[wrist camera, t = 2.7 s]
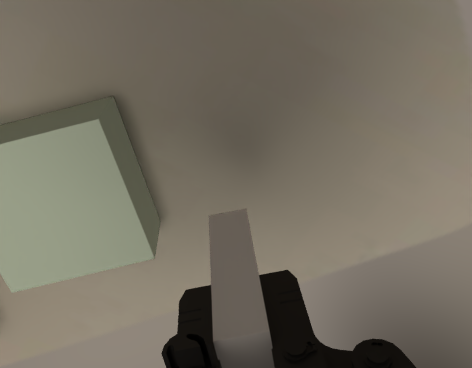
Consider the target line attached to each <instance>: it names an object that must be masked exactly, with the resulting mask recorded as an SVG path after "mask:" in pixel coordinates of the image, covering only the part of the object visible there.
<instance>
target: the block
mask: <svg viewBox="0 0 472 368" xmlns="http://www.w3.org/2000/svg"><path fill="white" fill-rule="evenodd" d="M159 228H160V219H159V216H158V214H157V211H156V209H155V206H154V203H153V201H152V198H151V195H150V193H149V190H148V187H147V185H146V182H145V179H144V177H143V174H142V171H141V169H140V166H139V164H138V161H137V158H136V156H135V153H134V150H133V148H132V145H131V142H130V140H129V137H128V134H127V132H126V129H125V126H124V124H123V121H122V119H121V116H120V113H119V111H118V108H117V105H116V103H115V100H114V97H113V96H111V97H108V98H104V99H100V100H96V101H92V102H88V103H84V104H80V105H77V106H73V107H69V108H65V109H61V110H57V111H53V112H50V113H46V114H42V115H38V116H34V117H30V118H26V119H22V120H19V121H15V122H11V123H7V124H3V125H0V274H1V276H2V277H3V279H4V281H5V282H6V284H7V286H8V287H9V289H10V290H11V292H12V293H14V292H18V291H22V290H26V289H30V288H34V287H39V286H43V285H47V284H51V283H55V282H59V281H64V280H68V279H72V278H76V277H80V276H84V275H88V274H93V273H97V272H101V271H105V270H109V269H113V268H118V267H122V266H126V265H130V264H134V263H138V262H143V261H147V260H151V259H155V254H156V247H157V241H158V234H159Z"/></svg>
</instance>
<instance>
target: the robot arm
mask: <svg viewBox="0 0 472 368" xmlns="http://www.w3.org/2000/svg"><path fill="white" fill-rule="evenodd" d="M209 236H210V265H211V285H209V286H204V287H198V288H193V289H188V290H186V291H185V292H184V294H183V296H182V298H181V299H180V301H179V316H178V332H177V334H176V335H175V336H174V337H172V338H171V339H169V341H168V342H167V343H166V344H165V345H164V348H163V351H162V356H163V359H164V362H165V365H166V368H416V367H415V366H414V365H413V363H412V362H411V361H410V360H409V359H408V358H407V357H406V356H405V354H404V353H403V352H402V351H401V350H400V349H399V348H398V347H397V346H395V345H394V344H393V343H390V342H388V341H385V340H382V339H370V340H365V341H362V342H361V343H359V344H358V345H356V347H355V348H354V350H353V351H346V350H338V349H332V348H330V347H328V346H325V345H324V344H322V343H321V342H320V341H319V340H318V339H317V338H316V337H315V335H314V333H313V330H312V326H311V323H310V320H309V317H308V313H307V310H306V307H305V304H304V301H303V297H302V294H301V291H300V288H299V284H298V281H297V278H296V277H295V276H294V275H293V274H292V273H290V272H289V271H288V270H284V271H279V272H273V273H268V274H263V275H259V273H258V268H257V263H256V257H255V252H254V247H253V242H252V236H251V231H250V226H249V221H248V215H247V210H246V209H242V210H236V211H231V212H226V213H220V214H215V215H210V216H209Z"/></svg>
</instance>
